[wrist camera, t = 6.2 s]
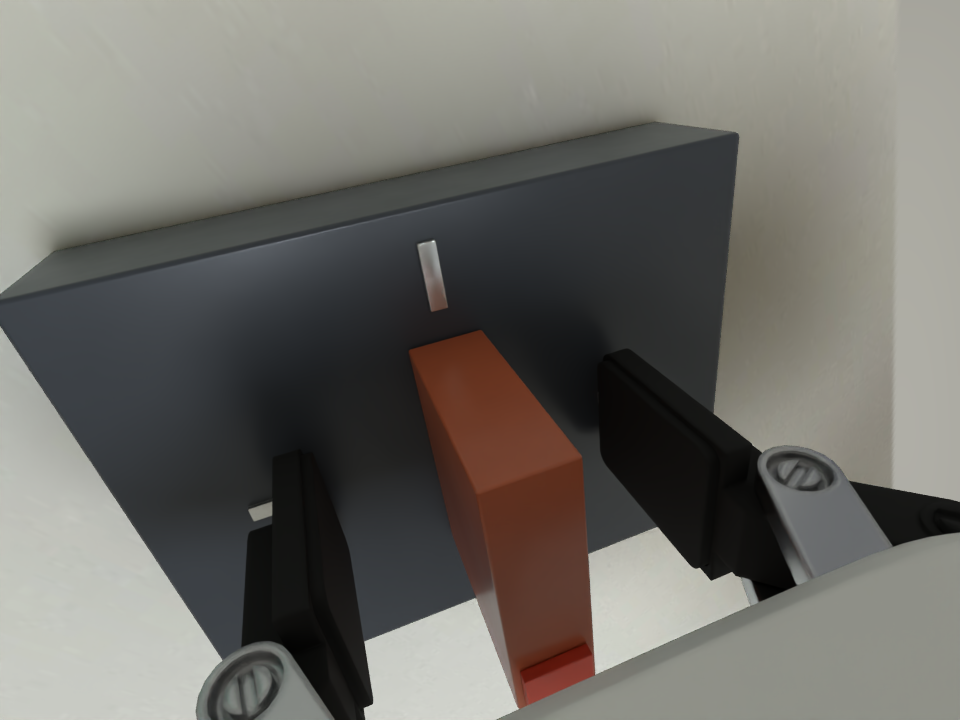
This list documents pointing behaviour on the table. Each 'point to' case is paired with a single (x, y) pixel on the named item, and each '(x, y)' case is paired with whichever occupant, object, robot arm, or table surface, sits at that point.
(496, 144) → the table surface
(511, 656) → the dial
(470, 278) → the panel
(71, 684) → the table surface
